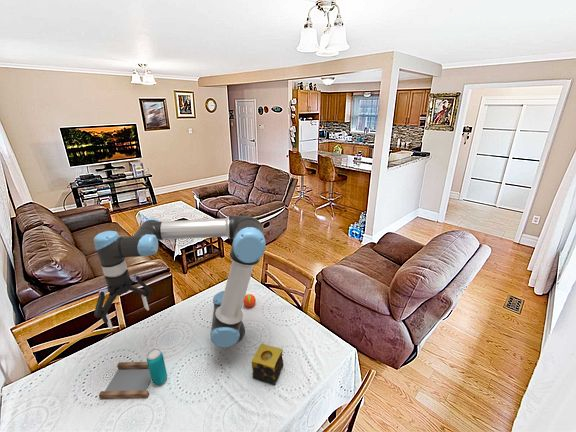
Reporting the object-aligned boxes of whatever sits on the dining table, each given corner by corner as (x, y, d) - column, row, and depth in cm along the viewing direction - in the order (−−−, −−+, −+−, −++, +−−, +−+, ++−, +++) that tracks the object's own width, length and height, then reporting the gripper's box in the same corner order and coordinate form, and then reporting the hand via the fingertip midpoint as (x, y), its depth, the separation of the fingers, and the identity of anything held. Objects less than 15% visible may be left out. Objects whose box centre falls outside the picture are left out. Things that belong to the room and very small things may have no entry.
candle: (283, 365, 122) (283, 348, 118) (275, 386, 113) (274, 368, 109) (262, 359, 125) (261, 342, 121) (252, 378, 116) (251, 361, 113)
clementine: (256, 310, 155) (255, 299, 152) (243, 311, 154) (242, 301, 151) (255, 300, 162) (255, 290, 159) (243, 302, 161) (242, 291, 158)
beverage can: (166, 372, 119) (160, 345, 113) (169, 382, 114) (163, 355, 109) (151, 379, 116) (144, 351, 111) (153, 390, 112) (146, 362, 106)
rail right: (162, 365, 122) (161, 361, 121) (160, 368, 121) (159, 364, 120) (120, 366, 122) (118, 362, 121) (118, 369, 120) (116, 365, 119)
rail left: (149, 394, 110) (148, 390, 109) (147, 398, 108) (146, 393, 108) (102, 395, 109) (100, 391, 109) (100, 399, 108) (98, 394, 107)
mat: (155, 369, 120) (155, 368, 120) (144, 394, 110) (144, 393, 110) (117, 370, 120) (117, 369, 120) (102, 395, 110) (102, 394, 110)
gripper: (145, 255, 114) (156, 298, 122) (72, 283, 97) (90, 331, 105) (154, 261, 110) (164, 305, 118) (79, 292, 93) (97, 341, 101)
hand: (129, 317), depth 111 cm, fingers open, 13 cm apart
